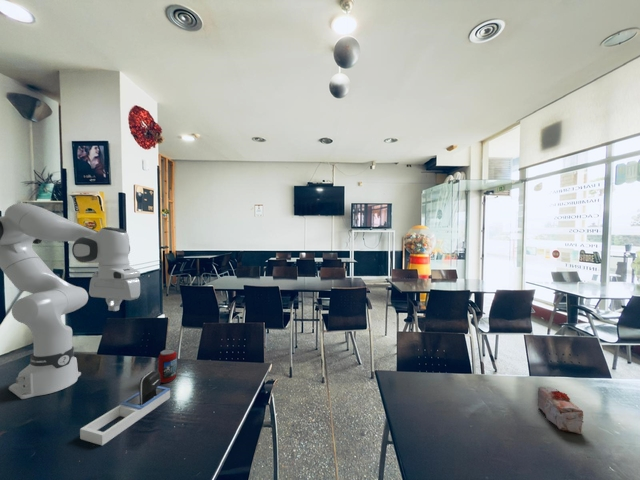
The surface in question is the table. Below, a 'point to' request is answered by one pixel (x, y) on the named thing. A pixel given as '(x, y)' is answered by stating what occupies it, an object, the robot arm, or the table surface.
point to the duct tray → (124, 410)
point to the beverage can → (167, 365)
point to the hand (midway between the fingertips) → (113, 310)
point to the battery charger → (149, 386)
